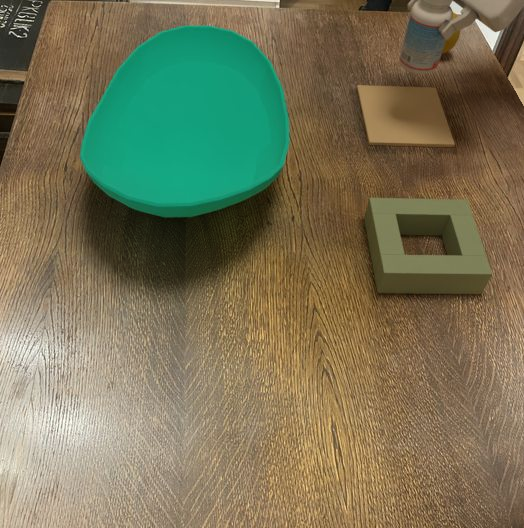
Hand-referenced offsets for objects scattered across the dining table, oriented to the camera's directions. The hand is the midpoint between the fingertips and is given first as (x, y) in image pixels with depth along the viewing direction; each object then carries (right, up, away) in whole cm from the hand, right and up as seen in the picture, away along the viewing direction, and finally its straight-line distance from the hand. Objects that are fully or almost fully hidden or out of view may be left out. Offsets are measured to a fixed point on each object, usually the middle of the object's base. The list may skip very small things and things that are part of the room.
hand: (425, 23), depth 89 cm
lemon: (+9, +7, +25) cm, 28 cm away
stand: (-2, -35, -5) cm, 35 cm away
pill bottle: (0, -4, +6) cm, 7 cm away
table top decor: (-35, -24, +1) cm, 42 cm away
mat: (0, -9, +13) cm, 16 cm away
